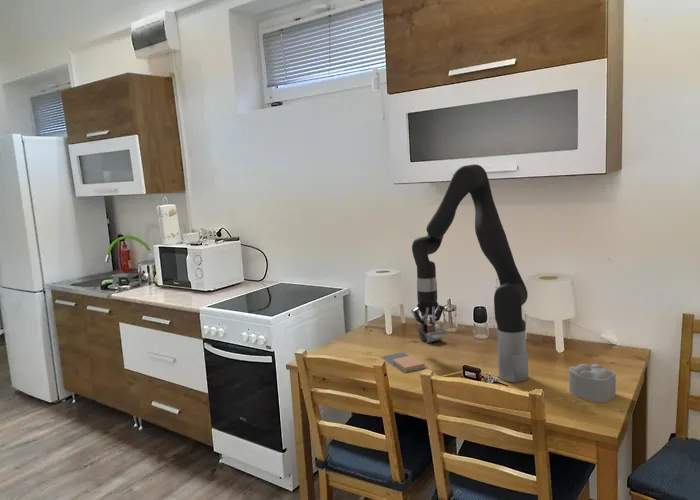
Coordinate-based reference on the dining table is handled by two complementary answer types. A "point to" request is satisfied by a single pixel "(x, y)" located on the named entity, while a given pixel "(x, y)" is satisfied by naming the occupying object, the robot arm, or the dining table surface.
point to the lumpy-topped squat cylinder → (592, 383)
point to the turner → (430, 331)
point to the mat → (394, 356)
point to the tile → (408, 363)
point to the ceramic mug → (428, 338)
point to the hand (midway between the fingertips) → (428, 332)
